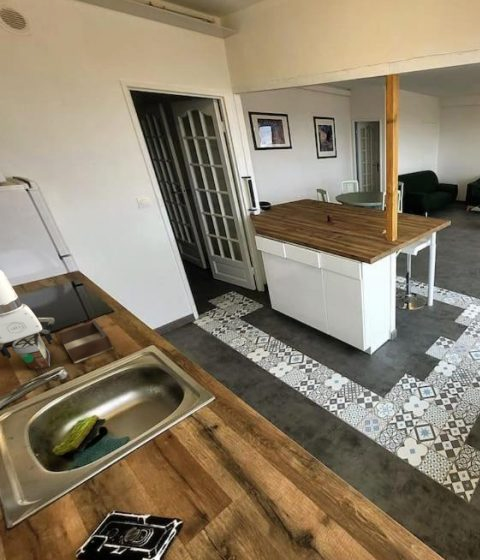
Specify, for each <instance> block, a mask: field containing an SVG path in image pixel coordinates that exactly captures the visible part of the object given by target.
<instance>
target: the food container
mask: <svg viewBox="0 0 480 560" xmlns="http://www.w3.org/2000/svg"><path fill="white" fill-rule="evenodd" d="M11 347H12V352H13V353H15V354H18V355H19V356H20V357H21V359H22V360H23V362H24V363H25V364H26V366H28V368H29V369H30V370H34V371H36V370H38V371H39V370H44V369H47V368H50V366H51V364H50V363H51V354H50V352H49V350H48V348H47V346H46V344H45V342H44V340H43V338H42V336H41V334H40V332H38V333H36V334H33V335H30V336H27V337H24V338H21V339H18V340H14V341H13V343H12V346H11Z"/></svg>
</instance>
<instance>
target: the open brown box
mask: <svg viewBox="0 0 480 560" xmlns="http://www.w3.org/2000/svg"><path fill="white" fill-rule="evenodd" d="M57 336H58V337H59V339H60V341H61V343H62V345H63V347H64V349H65V350H66V352H67V354H68V355H69V357H70V359H71V361H72V362H73V364H77V363H80V362H83V361H85V360H87V359H90V358H93V357H96V356H98V355H100V354H103V353H106V352H108V351H112V350H113V349H114V347H113V345H112V342H111V340H110V338H109V335H108V334H107V333H106V332H105V331H104V329H103V328H102V327H101V326H100V324H98V322H97V321H96V320H92V321H90V322H86V323H83V324H80V325H77V326H73V327H70V328H67V329H65V330H61V331H59V332H57Z"/></svg>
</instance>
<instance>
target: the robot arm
mask: <svg viewBox="0 0 480 560" xmlns="http://www.w3.org/2000/svg"><path fill="white" fill-rule="evenodd" d="M55 321H56V319H55V317H48V316H47V317H45V316H43V317H39V316H36V315H35V313H34V312H33V311H32V309H31V308H30V307H29V306H28V305H26V303H22V301H21V300H20V298H19V296H18V294H17V292H16V291H15V289H14V288H13V285H12V284H11V282H10V281H9V279H8V277H7V276H6V274H5V272H4V271H3V270H1V269H0V354H1V355H2V357H6V358H7V359H11V358H12V354H11V353H10V351H9V349H8V348H7V347H6V345H5V344H7V343H11V342H14V341H16V340H18V339H21V338H24V337H27V336H30V335H33V334H36V333H38V332H39V333H42V335H43V337H44V338H45V340H46V342H47V344H48V345H52V341H53V340H54V339H53V337H52V335H51V330H52V329H53V328H54V326H55V325H54V324H55ZM41 323H47V324H46V326H42V324H41Z"/></svg>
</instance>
